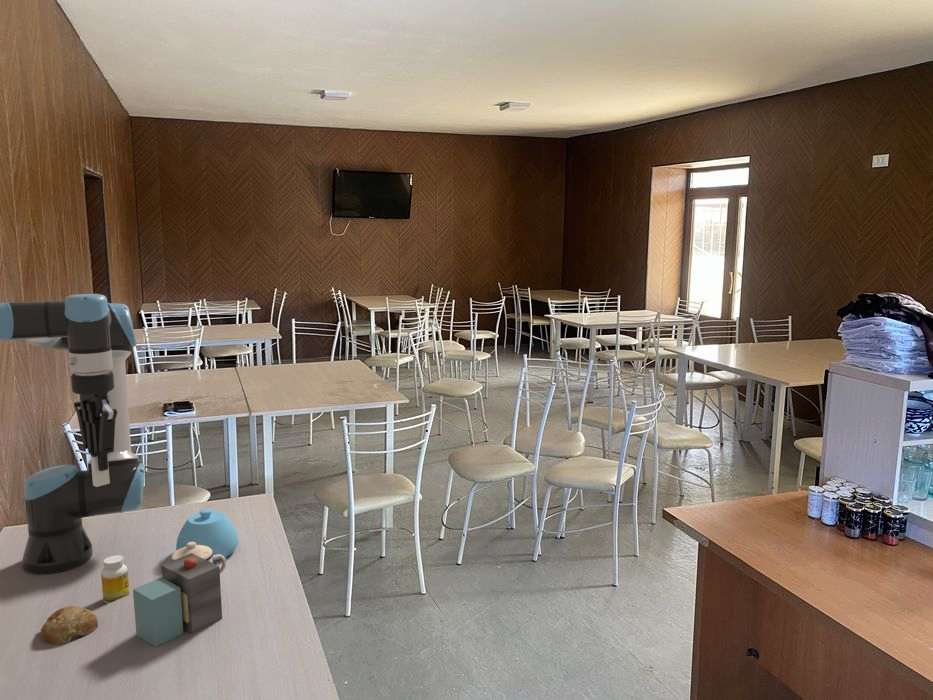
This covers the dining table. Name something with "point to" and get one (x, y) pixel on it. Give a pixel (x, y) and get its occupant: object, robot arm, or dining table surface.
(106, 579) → the supplement bottle
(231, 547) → the sugar bowl
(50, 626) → the bread roll
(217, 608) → the switch base
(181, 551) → the teacup with lid
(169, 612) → the teal rectangular block
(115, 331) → the robot arm
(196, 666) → the dining table surface
